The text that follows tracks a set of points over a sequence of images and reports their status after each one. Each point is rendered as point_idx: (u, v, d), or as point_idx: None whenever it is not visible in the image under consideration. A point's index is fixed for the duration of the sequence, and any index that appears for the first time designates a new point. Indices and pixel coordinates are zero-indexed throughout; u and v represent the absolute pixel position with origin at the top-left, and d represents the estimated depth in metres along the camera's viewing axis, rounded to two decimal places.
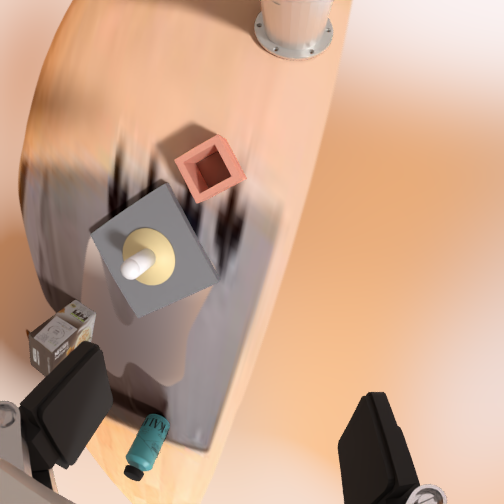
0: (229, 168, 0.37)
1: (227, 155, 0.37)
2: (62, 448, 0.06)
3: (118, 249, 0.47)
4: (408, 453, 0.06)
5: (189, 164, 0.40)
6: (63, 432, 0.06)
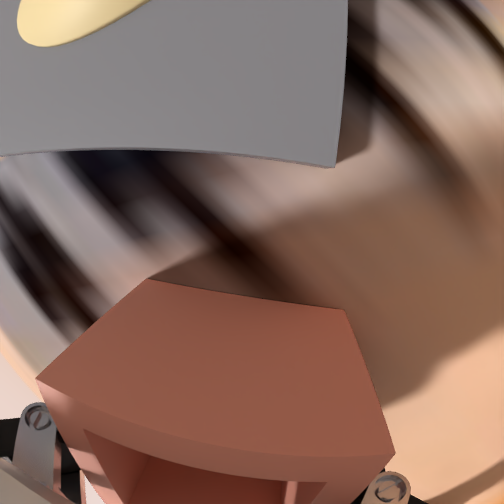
0: None
1: None
2: None
3: None
4: None
5: None
6: None
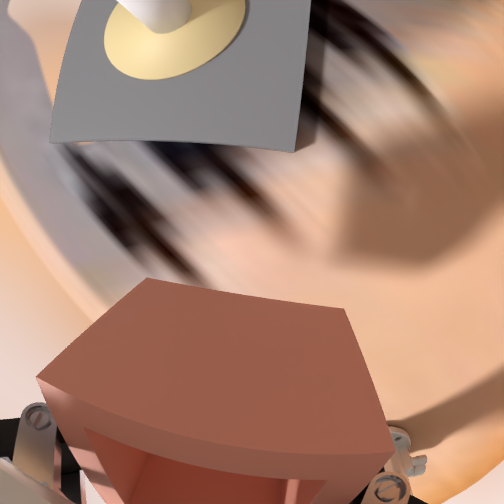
0: None
1: None
2: None
3: None
4: None
5: None
6: None
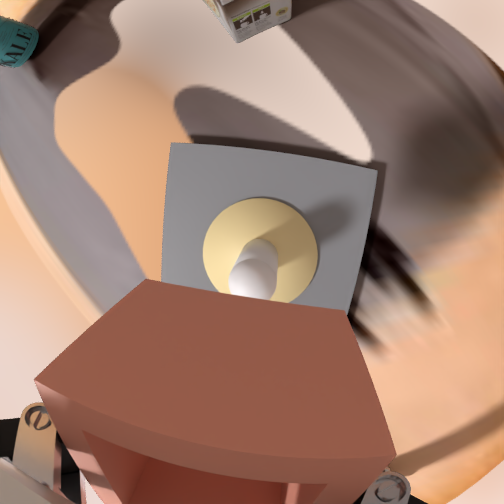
0: None
1: None
2: None
3: (311, 208, 0.24)
4: None
5: None
6: None
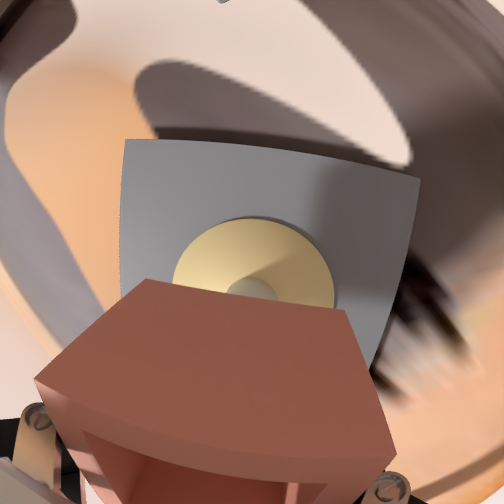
0: None
1: None
2: None
3: (327, 233, 0.16)
4: None
5: None
6: None
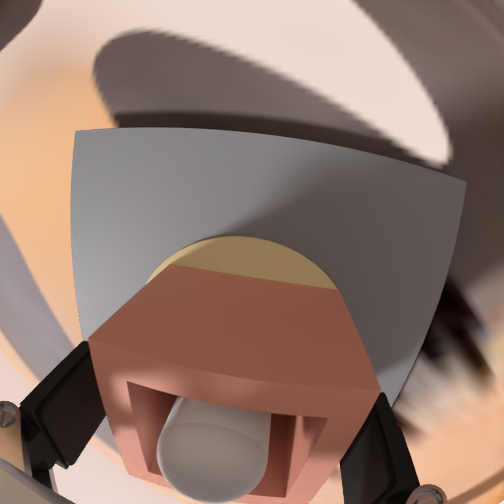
0: None
1: None
2: (62, 448, 0.06)
3: (345, 257, 0.11)
4: (408, 453, 0.06)
5: None
6: (63, 432, 0.06)
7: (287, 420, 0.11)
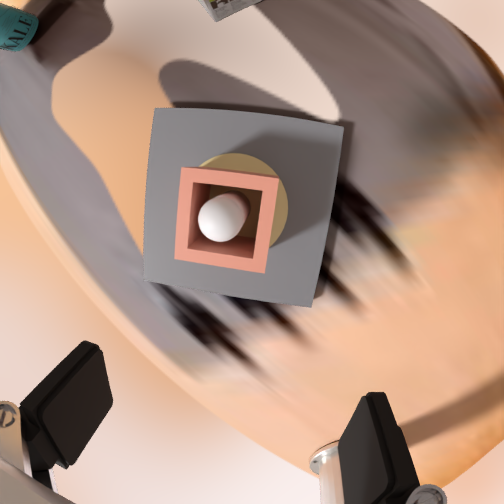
0: (200, 253, 0.21)
1: (222, 264, 0.22)
2: (62, 448, 0.06)
3: (281, 161, 0.25)
4: (408, 453, 0.06)
5: None
6: (63, 432, 0.06)
7: None
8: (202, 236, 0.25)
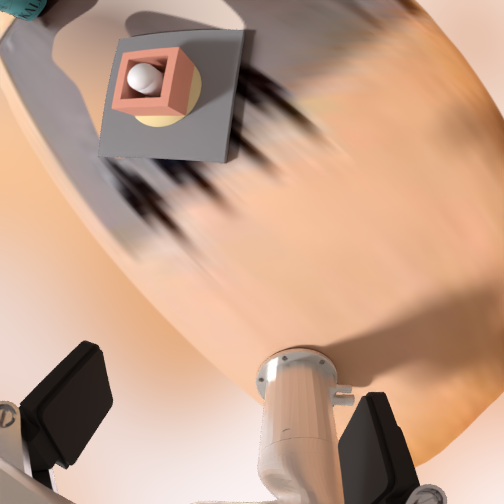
0: (127, 100, 0.25)
1: (140, 105, 0.26)
2: (62, 448, 0.06)
3: (197, 56, 0.29)
4: (408, 453, 0.06)
5: None
6: (63, 432, 0.06)
7: None
8: None
